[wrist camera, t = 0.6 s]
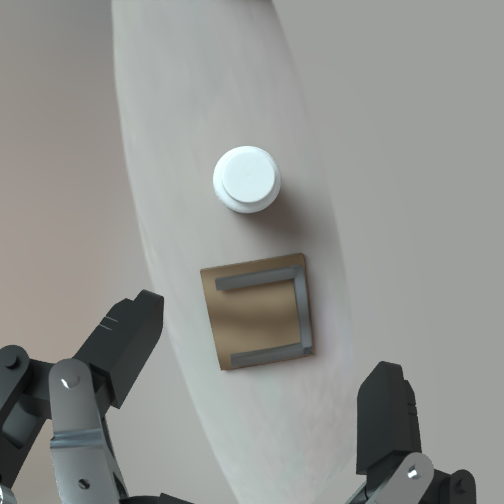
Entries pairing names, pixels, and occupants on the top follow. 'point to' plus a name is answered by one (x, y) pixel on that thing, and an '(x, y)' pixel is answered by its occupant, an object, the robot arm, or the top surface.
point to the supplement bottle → (247, 179)
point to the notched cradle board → (259, 311)
